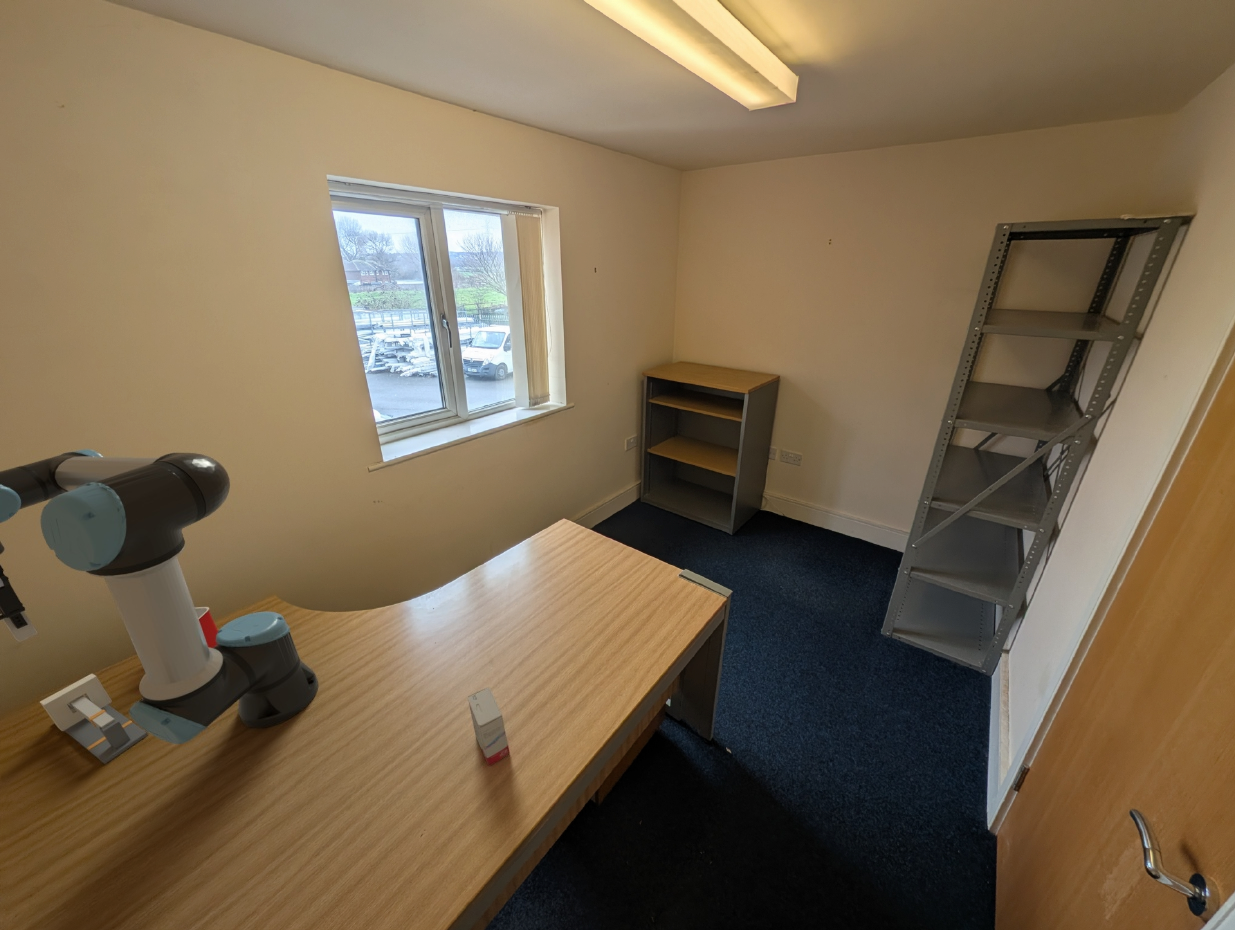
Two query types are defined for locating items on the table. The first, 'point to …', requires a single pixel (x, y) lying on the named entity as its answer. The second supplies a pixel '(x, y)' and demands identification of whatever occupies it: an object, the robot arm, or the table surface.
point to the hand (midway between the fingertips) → (27, 636)
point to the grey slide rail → (103, 730)
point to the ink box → (488, 725)
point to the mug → (207, 625)
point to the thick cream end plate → (59, 700)
